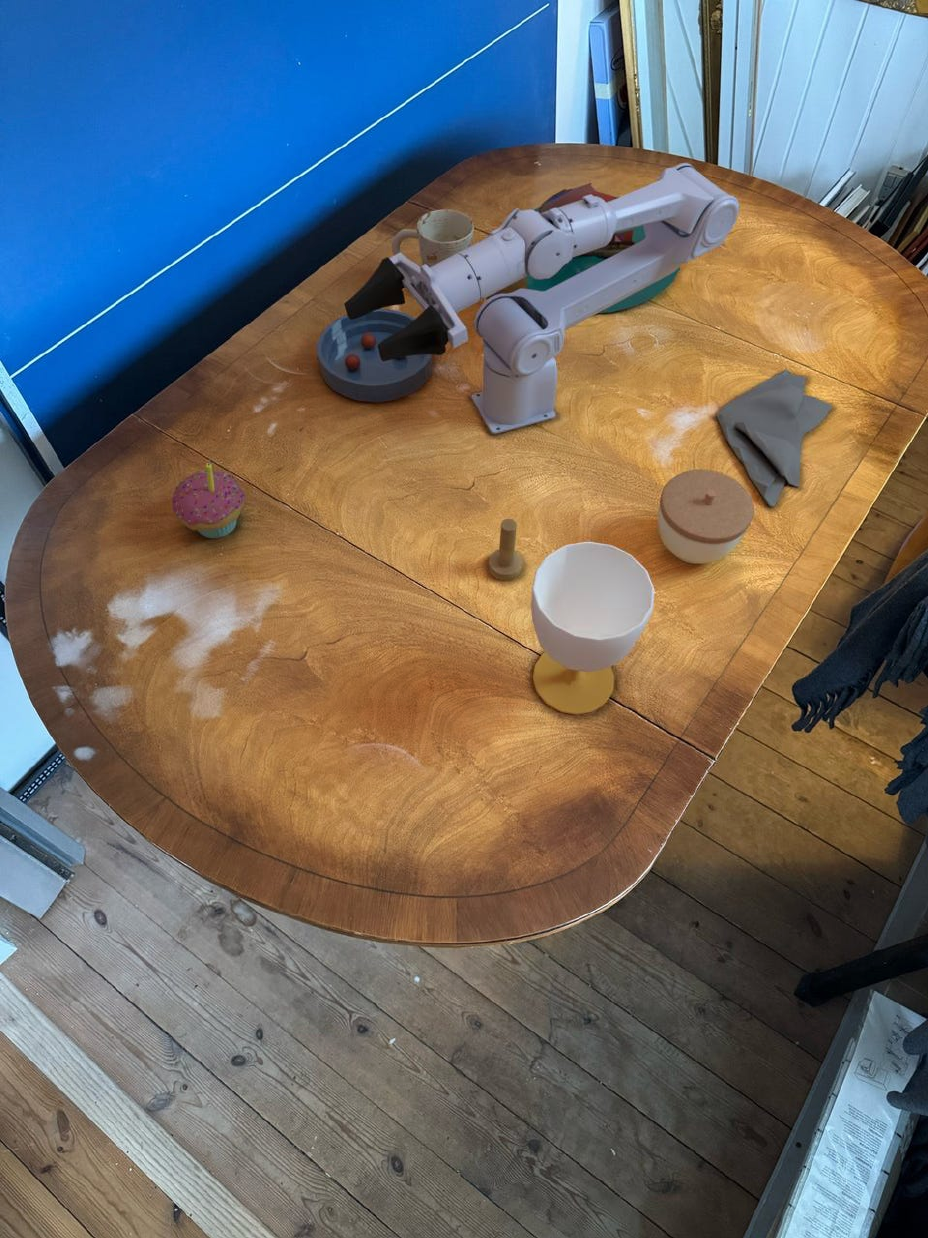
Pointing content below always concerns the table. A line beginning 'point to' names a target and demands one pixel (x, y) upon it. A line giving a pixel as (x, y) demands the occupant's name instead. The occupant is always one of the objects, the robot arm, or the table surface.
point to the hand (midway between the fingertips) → (363, 332)
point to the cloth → (772, 430)
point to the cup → (586, 622)
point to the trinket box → (703, 515)
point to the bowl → (370, 358)
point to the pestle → (506, 554)
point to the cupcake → (208, 502)
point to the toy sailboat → (597, 252)
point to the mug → (438, 235)
